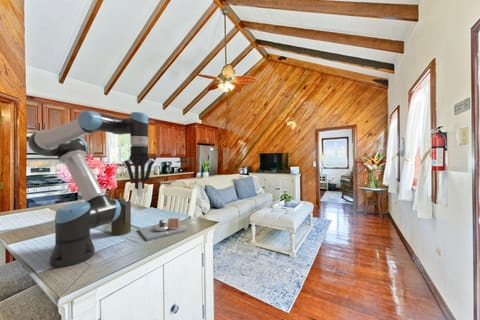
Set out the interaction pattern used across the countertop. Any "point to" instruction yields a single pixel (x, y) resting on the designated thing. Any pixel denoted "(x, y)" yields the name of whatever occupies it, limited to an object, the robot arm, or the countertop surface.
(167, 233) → the panel
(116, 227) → the canister
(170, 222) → the dial
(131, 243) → the countertop surface
